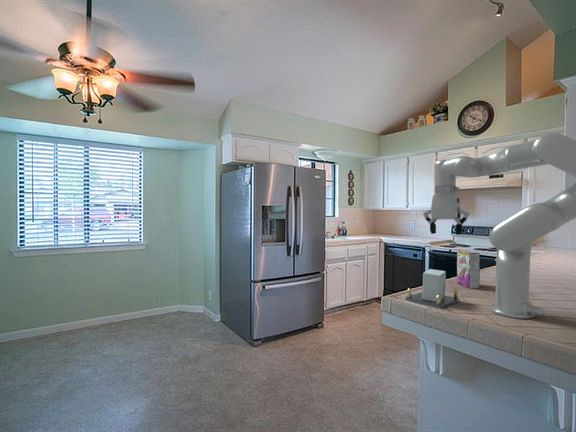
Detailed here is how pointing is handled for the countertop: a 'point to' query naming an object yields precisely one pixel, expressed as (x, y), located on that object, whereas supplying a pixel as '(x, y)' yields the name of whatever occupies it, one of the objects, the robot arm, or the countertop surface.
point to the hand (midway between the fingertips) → (445, 234)
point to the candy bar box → (468, 268)
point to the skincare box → (433, 284)
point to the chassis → (439, 304)
